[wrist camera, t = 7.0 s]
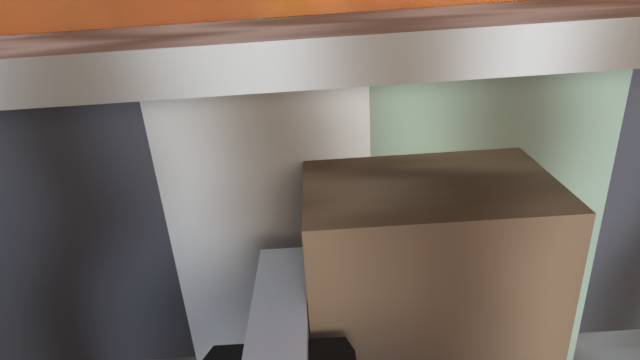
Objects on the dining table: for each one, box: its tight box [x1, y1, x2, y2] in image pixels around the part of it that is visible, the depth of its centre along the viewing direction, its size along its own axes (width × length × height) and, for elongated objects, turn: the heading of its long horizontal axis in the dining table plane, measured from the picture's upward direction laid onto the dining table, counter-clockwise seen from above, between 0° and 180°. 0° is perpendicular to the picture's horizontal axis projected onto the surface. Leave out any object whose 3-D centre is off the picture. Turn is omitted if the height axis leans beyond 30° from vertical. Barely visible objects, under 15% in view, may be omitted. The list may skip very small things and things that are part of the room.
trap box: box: [0, 0, 640, 360], centre depth 17 cm, size 36×15×6 cm, turn 93°
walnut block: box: [301, 148, 596, 360], centre depth 15 cm, size 7×7×4 cm
